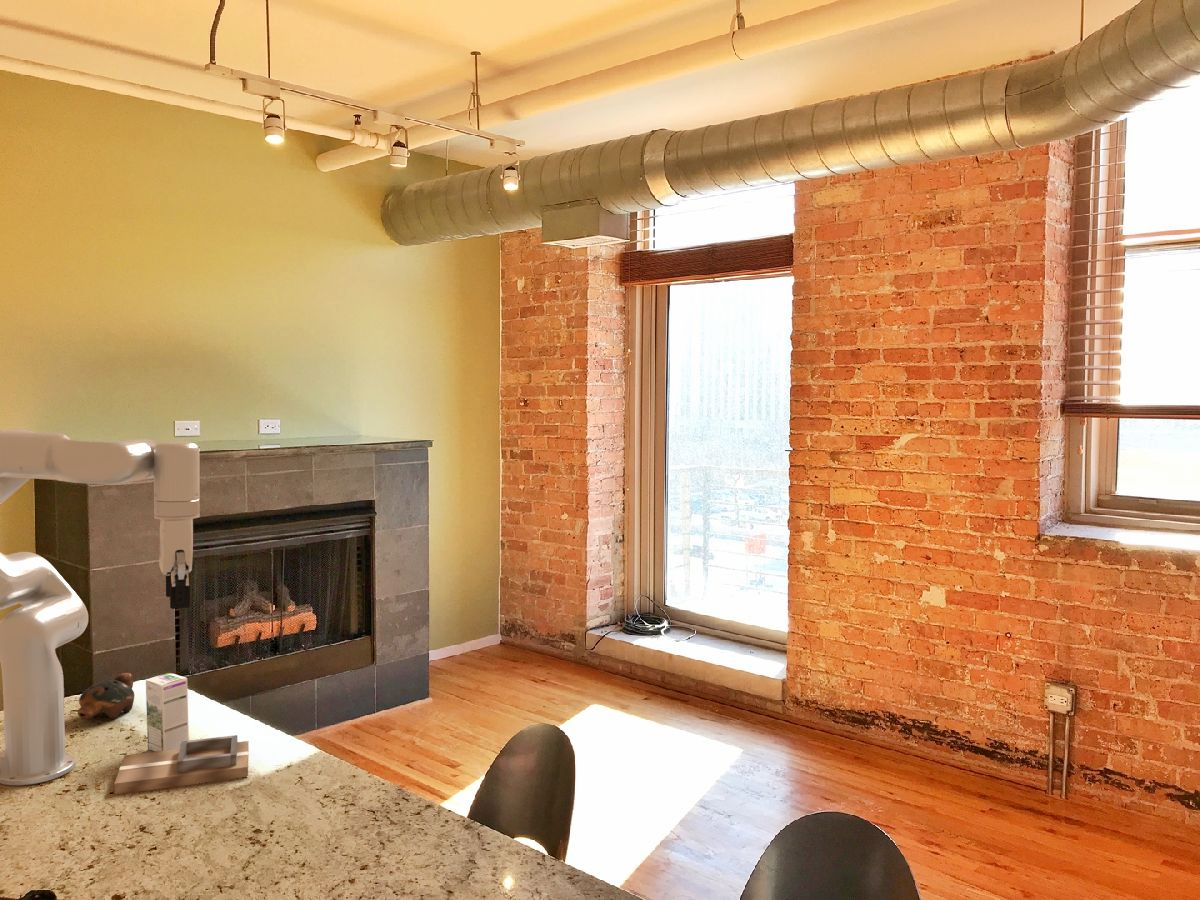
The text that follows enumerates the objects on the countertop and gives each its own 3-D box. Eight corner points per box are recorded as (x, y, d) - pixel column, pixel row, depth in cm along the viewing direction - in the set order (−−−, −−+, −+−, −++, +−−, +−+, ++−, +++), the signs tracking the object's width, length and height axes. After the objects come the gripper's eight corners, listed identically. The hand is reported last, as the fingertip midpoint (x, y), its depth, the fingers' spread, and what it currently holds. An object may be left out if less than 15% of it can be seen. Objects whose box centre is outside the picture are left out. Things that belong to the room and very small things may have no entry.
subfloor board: (114, 794, 159) (114, 772, 159) (124, 765, 171) (124, 745, 171) (247, 777, 167) (247, 756, 167) (248, 750, 179) (248, 731, 179)
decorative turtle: (149, 704, 204) (148, 670, 203) (107, 733, 189) (106, 697, 188) (108, 699, 205) (108, 666, 204) (63, 729, 190) (62, 693, 189)
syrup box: (190, 747, 180) (189, 676, 179) (162, 757, 176) (161, 684, 175) (173, 741, 184) (172, 671, 183) (145, 750, 179) (144, 679, 178)
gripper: (151, 504, 170) (151, 593, 171) (157, 516, 155) (158, 615, 156) (194, 502, 173) (195, 590, 174) (204, 514, 158) (205, 610, 159)
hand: (177, 601), depth 165 cm, fingers open, 9 cm apart
